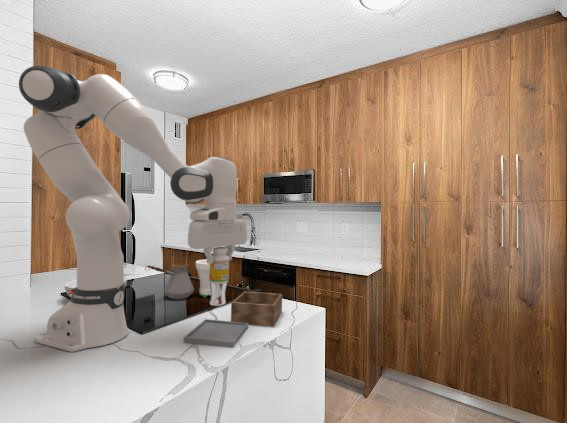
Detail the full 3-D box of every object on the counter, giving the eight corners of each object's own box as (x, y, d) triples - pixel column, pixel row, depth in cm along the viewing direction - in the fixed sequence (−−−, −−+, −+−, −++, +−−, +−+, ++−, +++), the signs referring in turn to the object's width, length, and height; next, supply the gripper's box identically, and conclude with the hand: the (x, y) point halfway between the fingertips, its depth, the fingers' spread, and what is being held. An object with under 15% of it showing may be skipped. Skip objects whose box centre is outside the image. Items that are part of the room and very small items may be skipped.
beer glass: (229, 301, 120) (230, 263, 120) (223, 307, 113) (224, 266, 113) (211, 300, 121) (212, 262, 121) (205, 306, 114) (206, 265, 114)
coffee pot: (180, 291, 132) (181, 257, 132) (199, 295, 127) (200, 259, 127) (135, 304, 114) (136, 264, 114) (156, 309, 108) (157, 267, 108)
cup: (203, 300, 120) (204, 264, 120) (189, 294, 128) (190, 260, 128) (227, 295, 128) (228, 261, 128) (213, 290, 136) (214, 258, 136)
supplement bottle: (211, 279, 91) (211, 246, 91) (229, 279, 91) (230, 247, 91) (208, 284, 85) (209, 249, 85) (227, 284, 86) (228, 249, 86)
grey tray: (183, 342, 83) (183, 337, 83) (205, 323, 96) (205, 319, 96) (233, 347, 80) (233, 342, 80) (248, 327, 94) (248, 323, 94)
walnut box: (230, 322, 98) (231, 302, 98) (243, 309, 111) (244, 291, 111) (273, 326, 95) (274, 306, 95) (281, 312, 109) (282, 294, 109)
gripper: (237, 213, 99) (236, 256, 99) (184, 213, 82) (183, 265, 82) (252, 214, 95) (251, 258, 95) (201, 214, 78) (199, 268, 78)
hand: (219, 261), depth 88 cm, fingers closed on supplement bottle, 5 cm apart
